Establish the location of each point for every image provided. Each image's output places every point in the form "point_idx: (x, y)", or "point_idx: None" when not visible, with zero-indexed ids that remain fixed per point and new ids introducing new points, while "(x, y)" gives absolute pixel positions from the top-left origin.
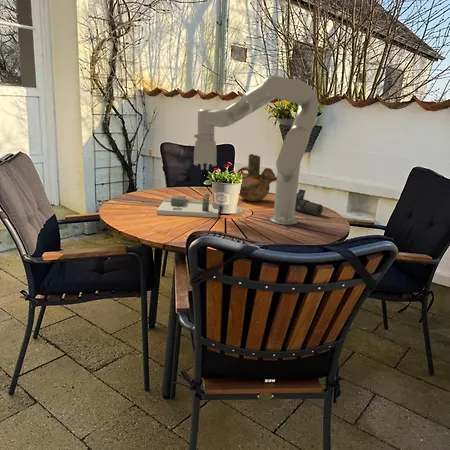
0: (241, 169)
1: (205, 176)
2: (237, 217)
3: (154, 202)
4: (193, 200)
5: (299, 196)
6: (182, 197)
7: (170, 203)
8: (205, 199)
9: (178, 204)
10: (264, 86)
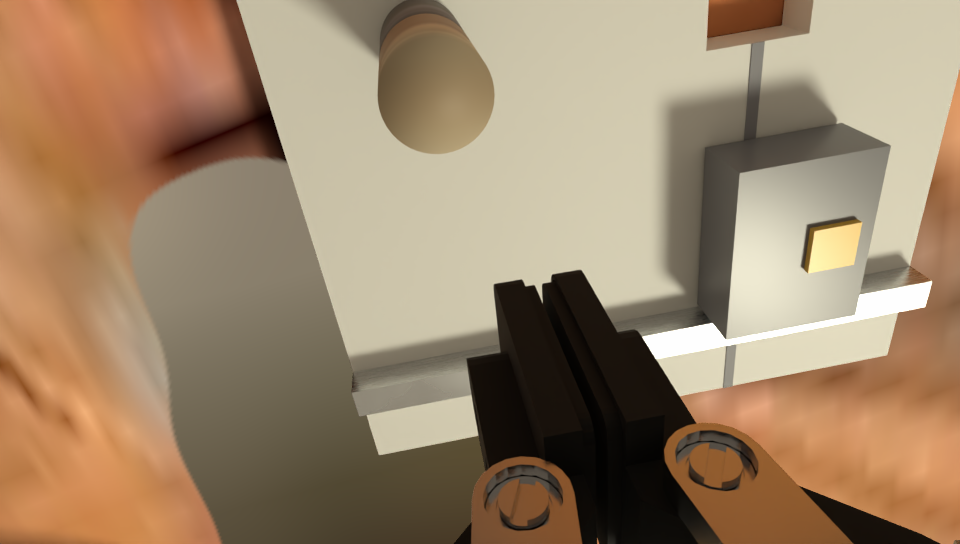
0: None
1: (524, 303)
2: (13, 57)
3: (954, 305)
4: None
5: None
6: (757, 277)
7: None
8: (423, 20)
9: (767, 142)
10: None
